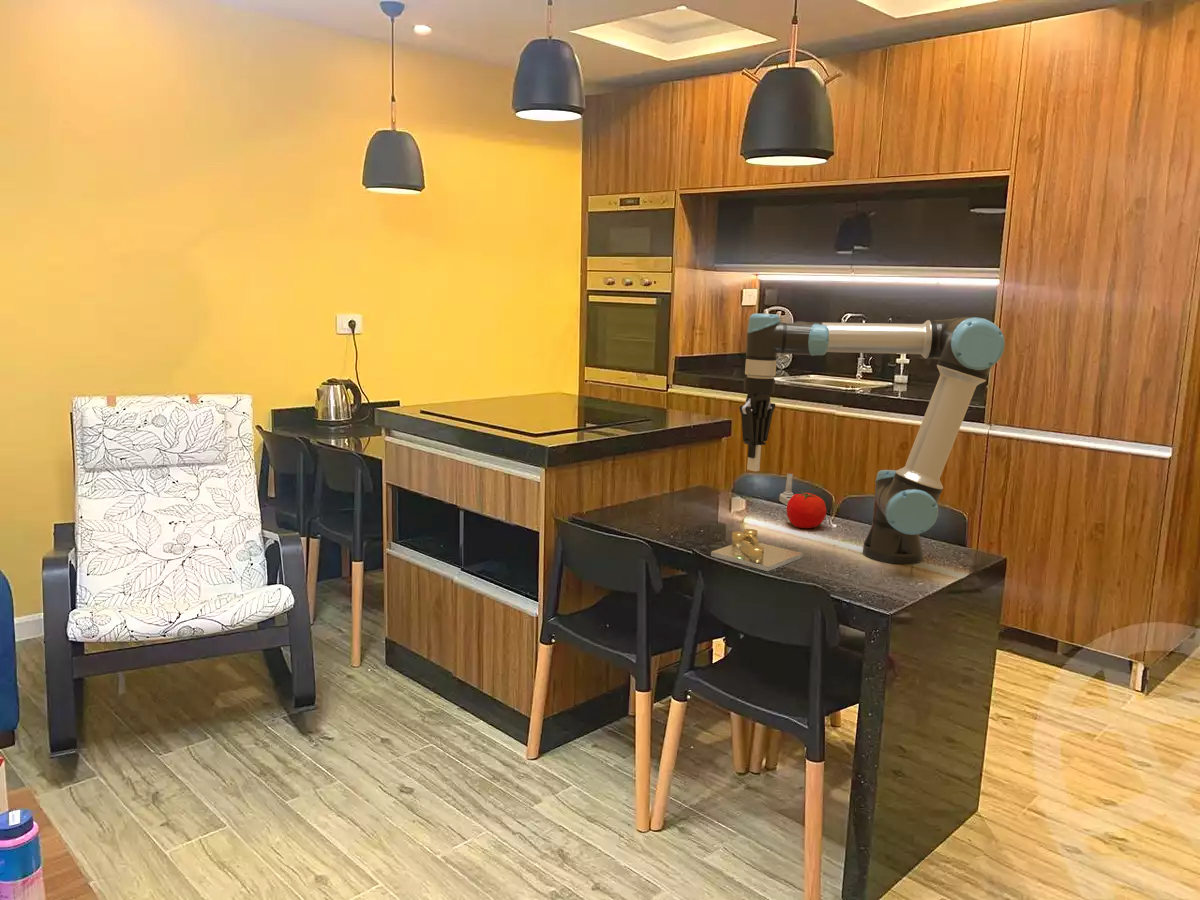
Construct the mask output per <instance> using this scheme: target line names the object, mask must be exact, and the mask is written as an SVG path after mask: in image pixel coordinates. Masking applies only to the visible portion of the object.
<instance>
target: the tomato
mask: <svg viewBox="0 0 1200 900" xmlns="http://www.w3.org/2000/svg"><path fill="white" fill-rule="evenodd" d="M800 492H801V493H795V494H794V495H793V496H792V497H791V499H790V500H789V501H788V504H787V505H786V516H787V519H788V520H789V522H790V523H791V524H792V525H793V526H794V527H795V528H797V529H798V528H801V529H812V528H813V529H814V528H816V527H818V526H819V525H821V524H823V523H822V522H823V521H824V520H825V518H826V517H827V506H826V503H825V500H824V499H823V498H821V497H820V496H818V495H816V493H814V492H813V493H809V492H804V491H802V490H800Z"/></svg>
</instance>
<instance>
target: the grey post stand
mask: <svg viewBox="0 0 1200 900" xmlns="http://www.w3.org/2000/svg"><path fill="white" fill-rule="evenodd" d="M786 475H787V476H786V481H785V482H786V483H785V491H783V492H782V493H780V494H779V502H781V503H782V504H783V505H784V506H787V504H788V501H789V500H790V499H791V497H792V496H793V495H795V494H794V493H793V492H792V490H793V475H794V474H793V473H790V472H788V473H787V474H786Z"/></svg>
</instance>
